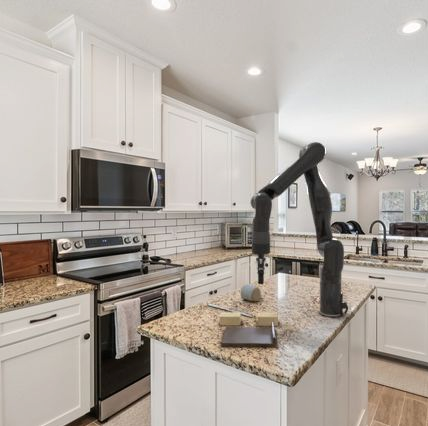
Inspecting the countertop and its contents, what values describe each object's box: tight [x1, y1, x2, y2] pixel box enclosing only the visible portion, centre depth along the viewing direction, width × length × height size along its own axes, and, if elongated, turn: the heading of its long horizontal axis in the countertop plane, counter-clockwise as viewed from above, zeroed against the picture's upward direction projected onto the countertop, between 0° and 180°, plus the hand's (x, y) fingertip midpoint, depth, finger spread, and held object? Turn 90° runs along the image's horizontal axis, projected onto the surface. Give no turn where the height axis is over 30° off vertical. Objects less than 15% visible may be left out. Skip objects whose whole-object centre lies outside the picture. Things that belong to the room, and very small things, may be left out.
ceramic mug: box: [240, 283, 263, 303], centre depth 153 cm, size 11×8×8 cm
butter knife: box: [206, 303, 253, 317], centre depth 136 cm, size 1×27×3 cm
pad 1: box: [219, 311, 242, 327], centre depth 121 cm, size 8×5×4 cm, turn 89°
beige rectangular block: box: [257, 312, 279, 327], centre depth 121 cm, size 8×5×4 cm, turn 89°
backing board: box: [220, 322, 276, 348], centre depth 107 cm, size 18×14×3 cm
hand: (260, 281), depth 123 cm, fingers open, 8 cm apart
